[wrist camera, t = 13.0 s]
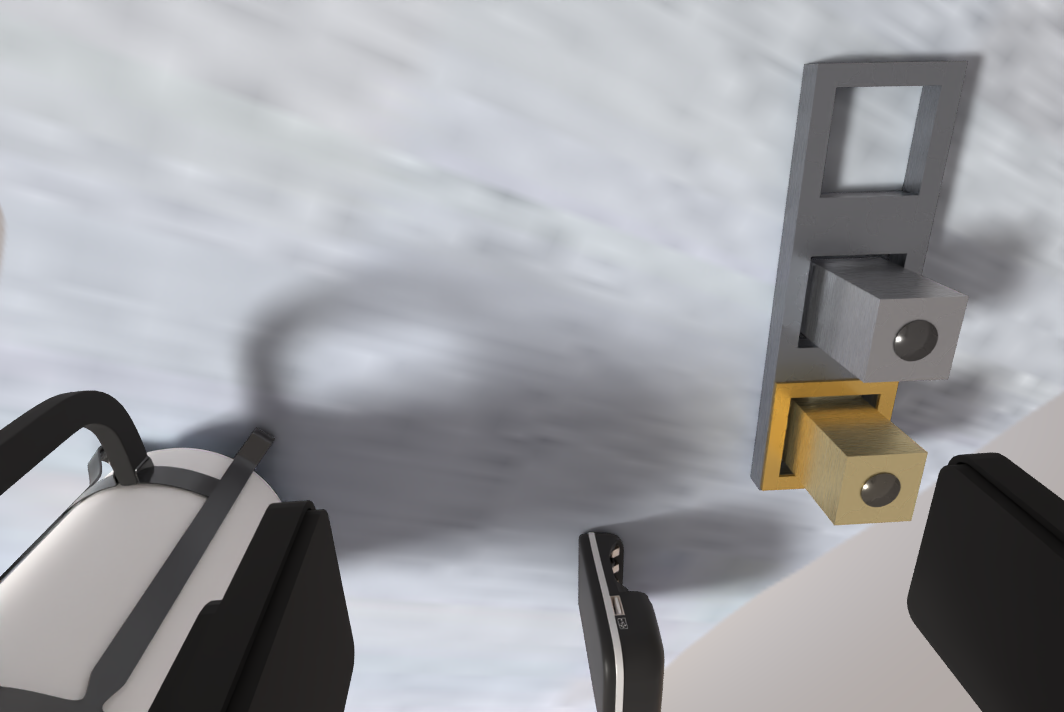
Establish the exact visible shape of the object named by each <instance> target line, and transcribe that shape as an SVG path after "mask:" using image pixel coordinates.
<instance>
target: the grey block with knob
mask: <svg viewBox="0 0 1064 712" xmlns="http://www.w3.org/2000/svg"><path fill="white" fill-rule="evenodd" d="M968 298H969V296H967V295H965V294H962V293H960V292H958V291H956V290H953V289H951V288H949V287H947V286H944V285H942V284H940V283H938V282H935V281H933V280H931V279H928V278H926V277H924V276H922V275H919V274H917V273H915V272H913V271H910V270H908V269H906V268H904V267H901V266H899V265H897V264H895V263H892V262H890V261H888V260H885V259H883V258H881V257H859V258H828V259H811V260H810V267H809V274H808V281H807V287H806V294H805V301H804V307H803V314H802V321H801V327H800V333H802V334H803V335H804V336H806V337H807V338H808V339H809V340H811V341H812V342H813V343H814V344H816V345H817V346H818V347H819V348H821V349H822V350H823V351H824V352H826V353H827V354H828V355H829V356H831V357H832V358H833V359H834V360H836V361H837V362H838V363H840V364H841V365H842V366H843V367H845V368H846V369H847V370H848V371H850V372H851V373H852V374H853V375H855V376H856V377H857V378H858V379H860V380H861V381H862V382H863V383H873V382H897V381H920V380H943V379H948V378H949V374H950V370H951V366H952V362H953V358H954V354H955V350H956V346H957V342H958V338H959V334H960V330H961V326H962V322H963V318H964V314H965V310H966V306H967V302H968Z"/></svg>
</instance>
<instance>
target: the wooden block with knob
mask: <svg viewBox="0 0 1064 712" xmlns="http://www.w3.org/2000/svg"><path fill="white" fill-rule="evenodd" d="M927 454H928V452H926V451H925V450H924V449H923V448H922V447H920V446H919V445H918V444H917V443H916V442H914V441H913V440H912V439H911V438H910V437H909V436H907V435H906V434H905V433H904V432H903V431H901V430H900V429H899V428H898V427H897V426H895V425H894V424H893V423H892V422H891V421H889V420H888V419H887V418H886V417H885V416H883V415H882V414H881V413H880V412H879V411H877V410H876V409H875V408H874V407H873V406H871V405H870V404H869V403H868V402H867V401H865V400H864V399H863V398H862V397H861V396H859V395H845V396H822V397H799V398H791V399H790V406H789V413H788V419H787V426H786V433H785V439H784V446H783V453H782V459H783V461H784V462H785V463H786V464H787V466H788V467H789V468H790V470H791V471H792V472H793V473H794V475H795V476H796V477H797V478H798V480H799V481H800V482H801V483H802V485H803V486H804V487H805V489H806V490H807V491H808V492H809V494H810V495H811V496H812V497H813V499H814V500H815V501H816V503H817V504H818V505H819V506H820V508H821V509H822V510H823V511H824V513H825V514H826V515H827V516H828V518H829V519H830V520H831V522H832V523H833V524H834V525H848V524H865V523H883V522H900V521H911V519H912V515H913V511H914V507H915V503H916V499H917V495H918V491H919V487H920V483H921V478H922V474H923V470H924V466H925V462H926V458H927Z"/></svg>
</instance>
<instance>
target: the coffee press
mask: <svg viewBox="0 0 1064 712" xmlns="http://www.w3.org/2000/svg"><path fill="white" fill-rule="evenodd" d="M82 427H84V428H87V429H89V430H90V431H92V432H93V433H94V434H95V435H96V436H97V438H98V439H99V441H100V443H101V445H102V446H100V447H99V448H98V449H97V451H96V452H95V454H94V455H93V457H92V458H91V460H90V461H89V463H88V472H89V480H90V486H89V487H88V488H87V489H86V490H85V491H84V492H83V493H82V494H81V495H80V496H79V497H78V498H77V499H76V500H75V501H74V502H73V503H72V504H71V505H70V506H69V507H68V508H67V509H66V511H65V512H64V513H63V514H62V515H61V516H60V517H59V518H58V519H57V520H56V521H55V522H54V523H53V524H52V525H51V526H50V527H49V528H48V529H47V530H46V531H45V532H44V533H43V534H42V535H41V536H40V537H39V538H38V539H37V540H36V541H35V542H34V543H33V544H32V545H31V546H30V547H29V548H28V549H27V550H26V551H25V552H24V553H23V554H22V555H21V556H20V557H19V558H18V559H17V560H16V561H15V562H14V563H13V564H12V565H11V566H10V567H9V568H8V569H7V570H6V571H5V572H4V573H3V574H2V575H1V576H0V712H148V710H149V708H150V706H151V704H152V702H153V701H154V699H155V697H156V695H157V693H158V691H159V689H160V687H161V685H162V683H163V681H164V679H165V678H166V676H167V674H168V672H169V670H170V668H171V666H172V664H173V662H174V660H175V658H176V656H177V655H178V653H179V651H180V649H181V647H182V645H183V643H184V641H185V639H186V637H187V635H188V633H189V631H190V630H191V628H192V626H193V624H194V622H195V620H196V618H197V616H198V614H199V613H200V611H201V610H202V608H203V607H204V605H206V604H207V603H209V602H210V601H213V600H222V599H223V596H224V594H225V592H226V590H227V588H228V586H229V584H230V582H231V580H232V578H233V576H234V574H235V572H236V570H237V568H238V566H239V564H240V562H241V560H242V558H243V556H244V554H245V552H246V550H247V548H248V546H249V544H250V542H251V540H252V537H253V535H254V533H255V531H256V529H257V527H258V525H259V523H260V521H261V519H262V517H263V515H264V513H265V511H266V509H267V508H268V506H269V505H270V504H272V503H279V502H281V501H280V499H279V498H278V496H277V495H276V493H275V492H274V490H273V489H272V488H271V487H270V486H269V484H268V483H267V482H266V481H265V480H264V479H263V478H261V477H260V476H259V475H258V474H257V473H255V472H254V469H255V468H256V466H257V465H258V463H259V462H260V460H261V459H262V457H263V456H264V455H265V453H266V452H267V450H268V449H269V447H270V446H271V444H272V443H273V441H274V440H275V438H273V437H272V436H270V435H268V434H267V433H265V432H263V431H262V430H260V429H258V428H257V427H256V428H255V430H254V431H253V432H252V434H251V435H250V436H249V438H248V439H247V441H246V442H245V443H244V445H243V446H242V447H241V449H240V450H239V452H238V453H237V454H236V456H235V457H234V458H233V459H232V458H229V457H227V456H224V455H222V454H219V453H215V452H211V451H207V450H202V449H195V448H170V449H162V450H156V451H151V452H147V453H146V450H145V448H144V445H143V443H142V440H141V438H140V436H139V433H138V431H137V429H136V427H135V425H134V423H133V421H132V419H131V418H130V416H129V414H128V413H127V411H126V410H125V409H124V407H123V406H122V405H121V404H120V403H119V402H118V401H117V400H116V399H115V398H113V397H112V396H110V395H108V394H106V393H103V392H99V391H78V392H69V393H64V394H59V395H57V396H54V397H51V398H49V399H47V400H45V401H44V402H42V403H40V404H38V405H37V406H35V407H34V408H32V409H30V410H29V411H27V412H26V413H24V414H23V415H21V416H20V417H18V418H17V419H16V420H14V421H13V422H11V423H10V424H8V425H7V426H6V427H4V428H3V429H1V430H0V495H2V494H3V493H4V492H5V491H6V490H7V489H9V488H10V487H11V486H12V485H13V484H15V483H16V482H17V481H18V480H19V479H20V478H22V477H23V476H24V475H25V474H26V473H27V472H29V471H30V470H31V469H32V468H33V467H35V466H36V465H37V464H38V463H39V462H40V461H42V460H43V459H44V458H45V457H46V456H48V455H49V454H50V453H51V452H52V451H53V450H55V449H56V448H57V447H58V446H59V445H61V444H62V443H63V442H64V441H65V440H67V439H68V438H69V437H70V436H71V435H73V434H74V433H75V432H77V431H78V430H79V429H81V428H82ZM101 461H105V462H107V463H109V464H110V465H111V467H112V469H113V471H112V472H110V473H109V474H108V475H107V476H106V477H105V478H104V479H102V480H101V481H99V482H97V481H98V480H99V478H100V477H101V474H102V462H101ZM96 482H97V483H96Z"/></svg>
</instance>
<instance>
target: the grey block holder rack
mask: <svg viewBox="0 0 1064 712" xmlns="http://www.w3.org/2000/svg"><path fill="white" fill-rule="evenodd" d="M967 63H968V61H936V62H876V63H818V64H804V71H803V79H802V87H801V94H800V102H799V109H798V117H797V125H796V132H795V140H794V148H793V155H792V163H791V171H790V178H789V186H788V194H787V201H786V209H785V217H784V224H783V232H782V240H781V247H780V255H779V263H778V270H777V278H776V286H775V293H774V301H773V308H772V316H771V324H770V331H769V339H768V347H767V354H766V362H765V370H764V377H763V385H762V393H761V400H760V408H759V416H758V423H757V431H756V439H755V446H754V454H753V462H752V469H751V479H752V480H753V482H754V483H755V484H756V486H757V487H758V489H759V490H762V491H765V490H785V489H804V488H805V487H804V486H803V485H802V483H801V482H800V481H799V480H798V478H797V477H796V476H795V475H794V473H793V472H792V471H791V470H790V468H789V467H788V466H787V464H786V463H785V462H784V461H781V459H782V453H783V446H784V439H785V433H786V426H787V419H788V413H789V406H790V399H791V398H799V397H822V396H845V395H862V398H863V399H864V400H865V401H867V402H868V403H869V404H870V405H871V406H873V407H874V408H875V409H876V410H877V411H879V412H880V413H881V414H882V415H883V416H885V417H886V418H887V419H888V420H889V421H890V420H891V415H892V410H893V406H894V401H895V397H896V392H897V388H898V383H899V381H897V382H873V383H863V382H862V381H861V380H860V379H858V378H857V377H856V376H855V375H853V374H852V373H851V372H850V371H848V370H847V369H846V368H845V367H843V366H842V365H841V364H840V363H838V362H837V361H836V360H834V359H833V358H832V357H831V356H829V355H828V354H827V353H826V352H824V351H823V350H822V349H821V348H819V347H818V346H817V345H816V344H814V343H813V342H812V341H811V340H809V339H808V338H799V334H800V327H801V321H802V314H803V307H804V301H805V294H806V287H807V281H808V274H809V267H810V260H811V256H838V255H869V254H890V257H889V261H890V262H892V263H895V264H897V265H899V266H901V267H904V268H906V269H908V270H910V271H913V272H915V273H917V274H919V275H922V270H923V265H924V261H925V256H926V252H927V247H928V242H929V238H930V233H931V229H932V224H933V220H934V215H935V210H936V206H937V201H938V197H939V192H940V187H941V183H942V178H943V174H944V169H945V164H946V160H947V155H948V151H949V146H950V141H951V137H952V132H953V128H954V123H955V118H956V114H957V109H958V105H959V100H960V96H961V91H962V86H963V82H964V77H965V73H966V68H967ZM874 86H923V89H922V94H921V99H920V104H919V109H918V114H917V119H916V124H915V129H914V134H913V140H912V145H911V150H910V155H909V160H908V165H907V170H906V175H905V180H904V185H903V190H902V191H885V192H848V193H821V187H822V180H823V174H824V167H825V160H826V154H827V147H828V140H829V133H830V127H831V120H832V113H833V107H834V100H835V93H836V87H874Z"/></svg>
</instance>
